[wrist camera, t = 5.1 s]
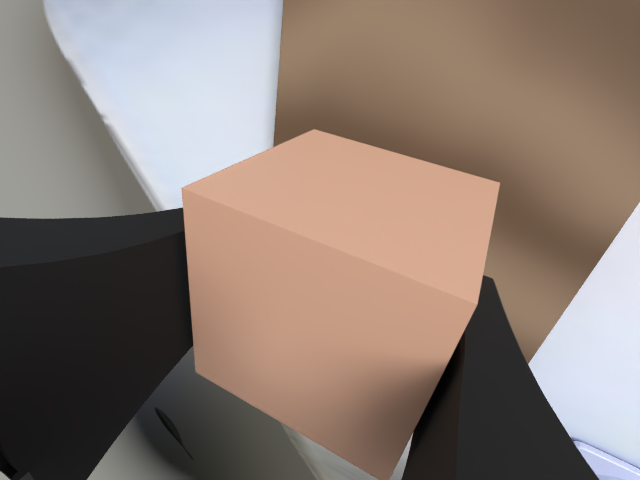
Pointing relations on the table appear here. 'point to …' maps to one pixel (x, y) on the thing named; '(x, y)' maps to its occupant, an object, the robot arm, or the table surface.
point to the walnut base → (487, 118)
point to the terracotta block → (335, 286)
